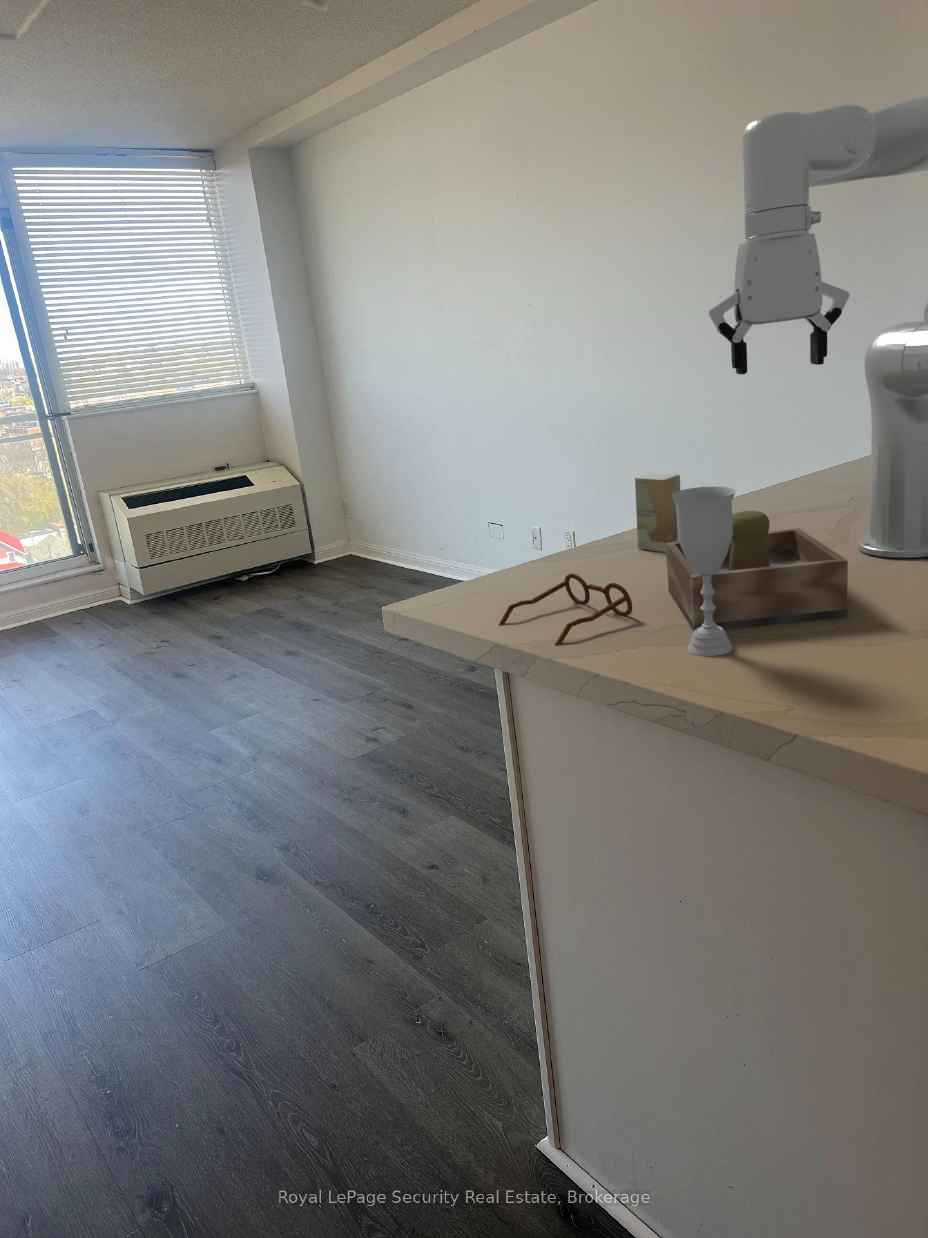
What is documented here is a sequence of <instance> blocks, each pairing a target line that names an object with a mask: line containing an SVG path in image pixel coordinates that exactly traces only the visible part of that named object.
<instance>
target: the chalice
mask: <svg viewBox="0 0 928 1238" xmlns="http://www.w3.org/2000/svg"><path fill="white" fill-rule="evenodd" d="M736 493H737V490H736V489H735V488H732V487H727V486H699V487H690V488H684V489H680V491H677V492H674V493H672V495H671V497H672V498H673V500H674V502H675V504H676V513H677V531H678V540H679V542H680V545H681V547H682V550H683V553H684V555H685V557H686V558H687V560H688V562H689V564H690V566H691V567H692V569H693V571H694V573H695V574H698V575H701V576H702V579H703V587H702V590H701V592H700V593H701V594H702V595H703V598H704V603H703V605H702V606H701V608H700V609H701V610H702V611H703V612H704V616H705V620H704V623H703V624H702V626H701V627H698V628H697V629H696V630H695V631H693V633H692V637H691V638H690V640H689V641H690V643H689V645H688V646H687V652H689V653H691V654H694V655H697V656H703V657H712V656H713V657H714V656H720V655H724V654H727V653H730V652H731V651H733V649H734V646H733V645H732V644H731V642H730V638H729V637H728V635H727V632H726V630H724V629H723V628H722V627H720V626H716V624H715V623H714V621H713V618H712V617H713V611H714V610H715V609H716V607H715V606H714V605H713V602H712V596H713V594H714V593H715V591H714V590H713V588H712V584H711V578H712V575H714V574H716V573H718V572H719V571H720V568H721V566H722V564H723V562H724V559H725V557H726V555H727V553H728V549H729V546H730V542H731V539H732V536H733V526H732V515H733V499H734V497H735V494H736Z"/></svg>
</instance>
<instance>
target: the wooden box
mask: <svg viewBox="0 0 928 1238" xmlns="http://www.w3.org/2000/svg"><path fill="white" fill-rule="evenodd" d="M731 540H732V539H731ZM765 540H766V546H767V552H768V558H769V564H770V566H769V567H760V568H751V569H741V570H732V571H728V570H729V560H730V550H731V542H730V546H729V549H728V553H727V555H726V557H725V559H724V562H723V564H722V566H721V568H720V571H719V572H718V573H716V574H714V575H712V578H711V584H712V588H713V590H714V591H715V593H714V594H713V596H712V602H713V605H714V606H715V607H716V609H715V610H714V611H713V617H712V618H713V621H714V623H715V624H716V626H720V627H722V628H723V629H724V630H725V631H726V630H735V629H741V628H742V629H744V628H745V629H746V628H753V627H763V626H764V627H765V626H774V625H782V624H783V625H784V624H792V623H802V622H813V621H822V620H832V619H842V618H848V594H849V593H848V589H849V588H848V579H849V578H848V576H849V574H848V571H849V570H848V568H849V567H848V566H849V565H848V564H849V563H848V562H849V560H848V559H846V557H843V556H841V554H839V553H837V552H836V551H834V550H833V549H831V548H830V547H828V546H827V545H826V544H823V543H822V541H821V542H820V541H819V540H818V539H816V538H814V537H813V536H812V535H810V534H809V533H807V532H805V531H804V530H802V529H801V528H800V527H798V528H789V529H782V530H772V531H768V534H767V535H766V537H765ZM665 553H666V569H667V570H666V571H667V572H666V573H667V589H668V593H669V594H670V596H671V598H672V599H673V600H674V601H673V602H675V603H676V605H677V607H678V609H679V610H680V612H681V613H682V615H683V617H684V618H685V620H686V621H687V623H688V625H689V626H690V627H691V629H692V631H693V632H694V631H695V630H696V629H697V628H698V627H701V626H702V624H703V623H704V620H705V616H704V612H703V611H702V610H701V609H700V608H701V606H702V605H703V603H704V598H703V595H702V594H701V593H700V592H701V590H702V587H703V579H702V576H701V575H698V574H695V573H694V571H693V569H692V567H691V566H690V564H689V562H688V560H687V558H686V557H685V555H684V553H683V550H682V547H681V545H680V542H671V543H666V552H665Z"/></svg>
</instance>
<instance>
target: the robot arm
mask: <svg viewBox="0 0 928 1238" xmlns="http://www.w3.org/2000/svg"><path fill="white" fill-rule="evenodd" d="M742 156H743V157H742V160H743V161H742V163H743V194H744V230H745V231H744V232H745V233H744V234H745V235H744V236H745V238H744V239H745V243H742V244H739V245H738V248H737V255H736V262H735V272H734V290H733V291H734V292H733V294H731V295H729V296H728V297H727V298H725V299H724V300H722V301H720V302H719V303H718V304H716V305H715V306H714V307H712V308H711V309H710V310H708V316H709V318H710V320H711V321H712V323H713V325H714V326H715V328H716V331H717V332H718V333H719V334H720V335H722V336H723V337H724V338H725V339H726V340H727V341H728V342H729V343H730V347H731V348H730V350H731V367H732V369H735V373H736V374H737V375H746V374H747V373H748V350H747V349H748V345H747V342H746V341H744V338H745V336H746V335H747V333H748V332H749V331H750V329H751V327H752V326H755V325H756V326H757V325H765V324H773V323H782V322H788V321H789V322H790V321H796V320H797V321H798V320H803V319H804V320H806V322H807V323H808V324H809V325H810V326H811V328H813V331H811V332H810V335H809V337H810V338H809V340H810V341H809V342H810V343H809V345H810V349H809V350H810V351H809V352H810V353H809V354H810V355H809V357H810V358H809V359H810V364H812V365H816V366H817V365H824V362H825V358H826V357H827V356H828V332H829V331H830V330H831V328H832V326H833V325H834V324H835V322H836V321H837V320H838V319H839V318H840V317H841V315H842V314H843V313H842V312H843V310H844V309H845V306H846V304H847V302H848V299H849V298H850V292H848V291H847V290H844V289H842V288H839V287H837V286H834V285H832V284H829V283H827V282H825V281H822V269H821V262H820V261H821V260H820V257H819V256H820V254H819V249H818V244H817V239H816V236H815V233H810V230H811V228H812V226H813V225H814V224H820V223H821V220H822V213H821V211H814V210H813V211H812V208H811V207H812V206H810V188H812V187H818V186H819V187H820V186H827V185H834V184H840V183H847V182H853V181H859V180H866V179H875V178H884V177H885V178H886V177H893V176H900V175H904V174H910V173H911V174H912V173H916V172H917V173H918V172H924V171H928V95H927V96H922V97H921V96H919V97H917V98H912V99H909V100H905V101H902V102H898V103H896V104H893V105H890V106H887V107H884V108H882V109H879V110H877V111H873V112H870V110H868V109H867V108H865V107H863V106H860V105H855V104H840V105H836V106H833V107H828V108H824V109H820V110H815V111H812V112H811V111H810V112H805V113H801V112H797V111H785V112H777V113H772V114H769V115H766V116H762V117H759V118H757V119H754V120H753V121H751V122H750V123H748V124H747V125H746V127H745V129H744V131H743V135H742ZM823 296H825V297H826V298H827V297H828V298H829V299H832V304H831V306H830V308H829V309H828V311H826V313H825V314H824V315H823V314H822V312H821V311H822V308H823V307H822V306H823ZM730 309H733V315H734V317H733V318H734V321H735V322H736V325H735V326H733V327H732V326H731V325H730V324H729V323H728V322H727V320H725V316H724V314H725V313H726V312H728V311H729V310H730ZM864 356H865V357H864V374H865V380H866V385H867V390H868V396H869V402H870V404H869V405H870V417H871V446H870V447H871V451H870V452H871V453H870V509H869V510H870V511H869V512H870V514H869V515H870V516H869V518H870V519H869V521H870V523H869V525H870V526H869V527H870V528H869V530H870V533H869V534H868V535H864V536H862V537H861V538H859V540H858V549H859V551H861V552H862V553H865V554H867V555H871V556H875V557H882V558H893V559H895V558H896V559H913V558H915V559H916V558H926V557H928V300H927V301H926V303H925V306H924V310H923V320H921V321H908V322H902V323H897V324H894V325H892V326H888V327H887V328H884V330H882V331H881V332H879V333H878V334H877V335H876V336H875V337H874V338H873V339H872V341H871V342H870V343H869V345H868V347H867V349H866V353H865V355H864Z"/></svg>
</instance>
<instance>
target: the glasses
mask: <svg viewBox="0 0 928 1238" xmlns="http://www.w3.org/2000/svg"><path fill="white" fill-rule="evenodd" d="M571 579H574V580H576V581H578V582H579V583H580V585H581V586H582V588H583V591H584V596H585V597H584V600H582V599H579V598H578V597H576V596H575V595H574V593H573V592H572V589H571V585H570V580H571ZM564 587H565V591H566V592H567V595H568V596H569V597H570V599H571V601H573V602H574V603H575V604H579V605H582V606H585V605H587V604H588V603H590V599H591V598H590V591H589V590H592V591H596V592H600V593H602V594H604V597H605V601H606V603H607V605H606V606H605V607H603V608H600V610H597V611H596V612H594V613H593V614H591V615H589V616H585V617H580V618H577V619H575V620H573V621H570V622H569V623H566V624H565V627H564V628H563V630H562V632H561V633H560V634H559V637H558V638H557V640H556V641H555V643H554V645H555V646H559V645H562V644H563V643H564V640H565V639H566V637H567V635H568V634H569V632H570V631H571V629H572V627H576V626H577V625H580V624H583V623H589V622H593V621H595V620H597V619H598V618H600V617H601V616H603V615H604V614H607V613H609V612H610V611H612V612H614V613H615V614H616V615H619V616H623V617H629V616H630V614H631V613H632V611H633V602H632V599H631V596H630V594H629V593H628V591H627V590H626V588H624V586H622V585H621V584H619V583H615V582H611V583H608V584H607V585H606V586H605V587H603V586H600V585H595V584H587V582H586V581H585V579H583V578H582V577H581V576H579V575H578V574H576V573H569V574H567V575H566V576H565V578H564V581H562V582H560V583H558V584H556V585H554V586H553V587H550V588H549V589H548V590H546V591H544V592H542V593H540V594H538V595H537V596H535V597H534V598H532V599H525V600H520V601H517V602H515V603H512V604H510V605H509V606H508V607H507V608H506V611H505V612H504V613H503V616H502V617H501V620H500V622H499V623H498V626H504V625H505V624H506V622H507V621H508V618H510V615H511V614H512V612H513V610H514V609H517V608H518V607H521V606H524V605H525V606H526V605H534V604H536V603H538V602H540V601H542V600H544V599H545V598H546V597H548V596H550V595H552V594H554V593H555V592H557V591H559V590H561V589H562V588H564ZM611 589H617V590H618V591H620V593H622V597H620V598H618V599H616V600H615V601H612V599H611V595H610V590H611ZM625 602H626V606H627V607H626V608H627V609H626V611H622V610H620V609H618V606H620V605H622V604H623V603H625Z"/></svg>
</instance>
